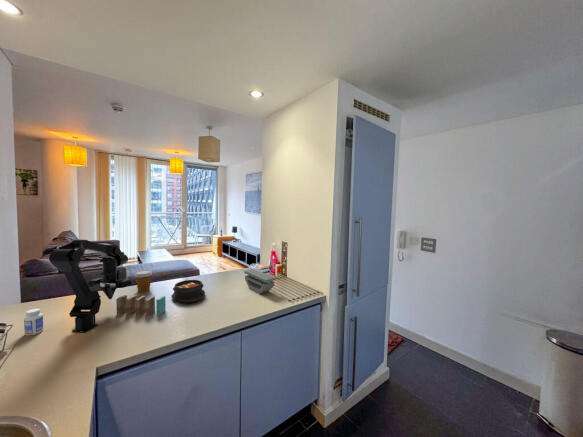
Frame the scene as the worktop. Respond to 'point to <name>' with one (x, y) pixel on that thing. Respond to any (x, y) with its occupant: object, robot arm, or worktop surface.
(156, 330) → the worktop surface
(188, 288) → the casserole
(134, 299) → the domino
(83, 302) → the robot arm
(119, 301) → the domino
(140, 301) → the domino
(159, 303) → the teal domino
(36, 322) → the pill bottle
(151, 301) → the domino
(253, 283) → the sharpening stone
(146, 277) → the disposable coffee cup
